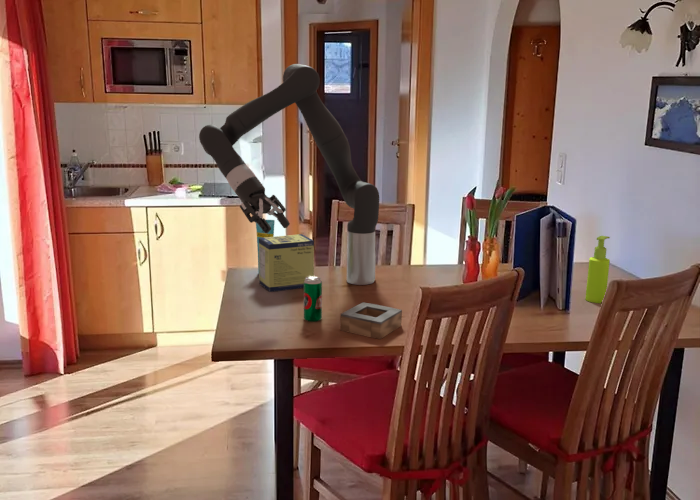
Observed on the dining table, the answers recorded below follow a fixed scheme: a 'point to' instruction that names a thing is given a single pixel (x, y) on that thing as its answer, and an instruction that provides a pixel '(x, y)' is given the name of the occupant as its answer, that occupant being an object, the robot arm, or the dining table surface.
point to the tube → (264, 234)
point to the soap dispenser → (597, 273)
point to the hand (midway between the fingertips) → (278, 228)
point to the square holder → (371, 320)
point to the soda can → (312, 299)
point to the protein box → (285, 261)
